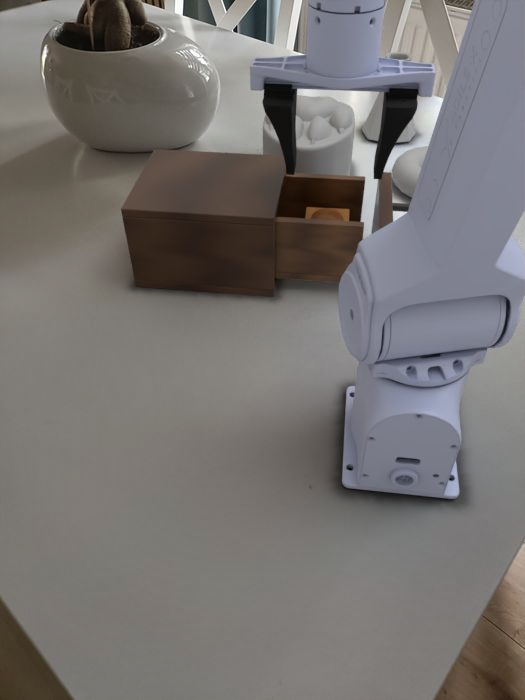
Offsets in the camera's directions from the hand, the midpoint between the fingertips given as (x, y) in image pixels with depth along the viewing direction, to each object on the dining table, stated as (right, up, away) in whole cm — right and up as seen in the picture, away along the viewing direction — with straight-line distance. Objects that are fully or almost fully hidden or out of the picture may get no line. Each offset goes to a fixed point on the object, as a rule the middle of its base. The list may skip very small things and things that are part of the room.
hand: (334, 171), depth 56 cm
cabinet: (-11, -6, +8) cm, 15 cm away
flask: (+11, +13, +29) cm, 33 cm away
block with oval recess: (0, -6, +5) cm, 8 cm away
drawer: (+2, -7, +6) cm, 9 cm away
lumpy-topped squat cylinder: (-1, +4, +20) cm, 20 cm away
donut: (+14, +3, +18) cm, 23 cm away
